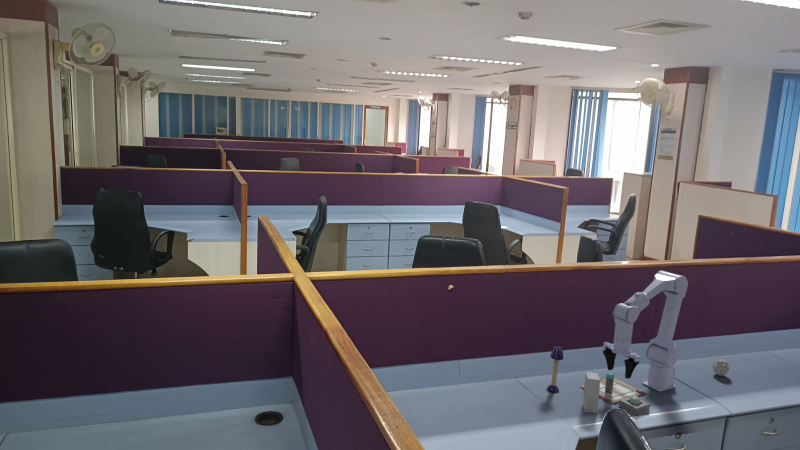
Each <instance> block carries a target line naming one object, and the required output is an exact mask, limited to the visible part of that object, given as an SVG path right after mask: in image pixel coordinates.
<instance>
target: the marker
mask: <svg viewBox="0 0 800 450" xmlns="http://www.w3.org/2000/svg"><path fill="white" fill-rule="evenodd" d="M614 378H615V374H614V373H613V372H606V374H605V379H606V385H605V392H606V393H608V394H612V391H613V382H614Z"/></svg>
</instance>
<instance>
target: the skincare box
mask: <svg viewBox="0 0 800 450" xmlns="http://www.w3.org/2000/svg"><path fill="white" fill-rule="evenodd" d="M584 377H585V378H584V385H585V386H584V389H583V396H582V397H583V398H582V407H583V411H584V412H585V413H594V414H598V407H599V398H600V397H599V389H600V380H601V378H600V376H599V373H595V372H588V371H587V372H585V376H584Z"/></svg>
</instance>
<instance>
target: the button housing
mask: <svg viewBox="0 0 800 450" xmlns="http://www.w3.org/2000/svg"><path fill="white" fill-rule="evenodd" d="M629 399H630V397H627V398H624V399H620V400H619V403H618V407H619V408H621V409H623V410H624V409H625V410H624V411H627V412H629V413H631V414H632V415H634V416H638V415H641V414H644V413H647V412H650V409H651V408H650V406H651V405H650V403H648V402H646V401H644V400H643V399H640V404H639V405H636V406H635V405H633V404H631V403H629Z"/></svg>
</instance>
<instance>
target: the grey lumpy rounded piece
mask: <svg viewBox="0 0 800 450" xmlns="http://www.w3.org/2000/svg"><path fill="white" fill-rule="evenodd" d="M711 368H712V371H713V373H714V374H715V375H716V376H720V377H723V376H725V375H727V374H728V372H729V371H730V365H729V363H728V361H727V360H725V359H722V358H719V359H717V360H715V361H714V362H713V363H712V367H711Z"/></svg>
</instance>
